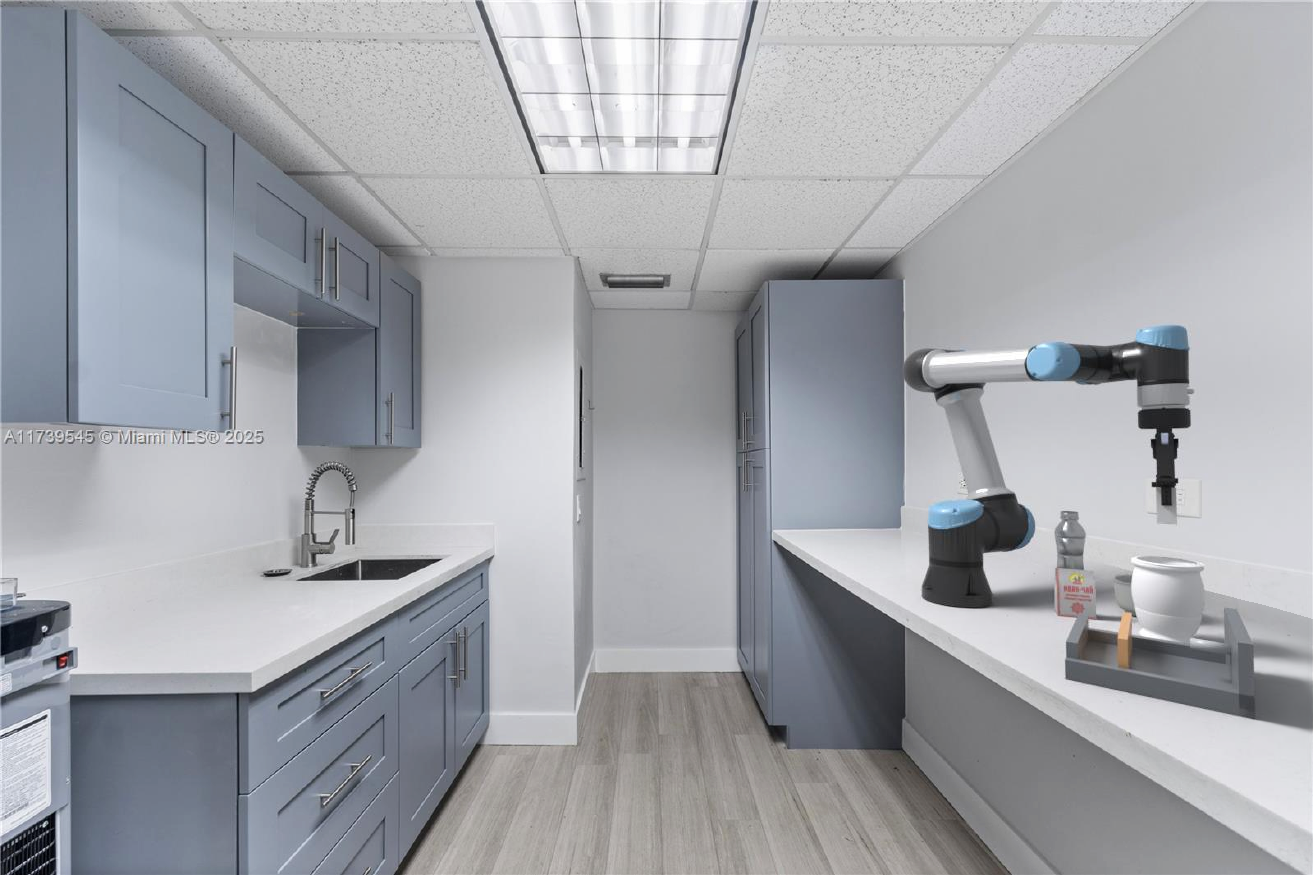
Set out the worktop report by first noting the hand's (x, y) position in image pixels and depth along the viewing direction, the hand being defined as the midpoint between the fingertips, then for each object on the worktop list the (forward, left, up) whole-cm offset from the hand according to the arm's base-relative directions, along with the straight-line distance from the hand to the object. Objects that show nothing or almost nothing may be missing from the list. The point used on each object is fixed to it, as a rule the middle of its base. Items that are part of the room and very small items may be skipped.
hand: (1166, 520), depth 109 cm
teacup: (-4, +19, -23) cm, 30 cm away
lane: (-2, -23, -23) cm, 32 cm away
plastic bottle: (-18, +32, -23) cm, 43 cm away
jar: (0, 0, -23) cm, 23 cm away
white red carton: (-15, +8, -23) cm, 29 cm away
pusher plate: (-6, -23, -21) cm, 32 cm away
